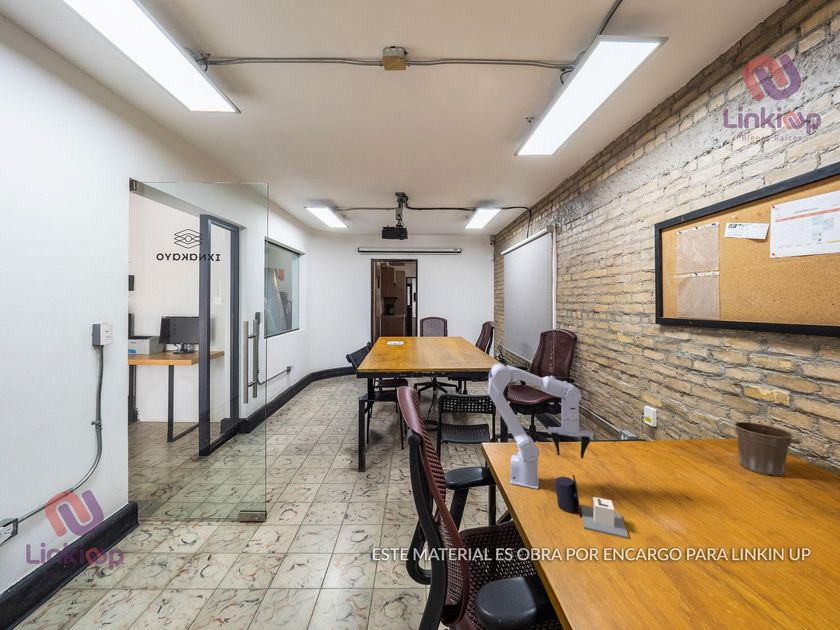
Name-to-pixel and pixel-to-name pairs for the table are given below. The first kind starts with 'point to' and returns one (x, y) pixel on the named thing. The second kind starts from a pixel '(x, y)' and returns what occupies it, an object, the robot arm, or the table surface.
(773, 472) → the plant pot
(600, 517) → the letter cube
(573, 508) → the speaker
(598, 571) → the table surface
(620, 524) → the pad
